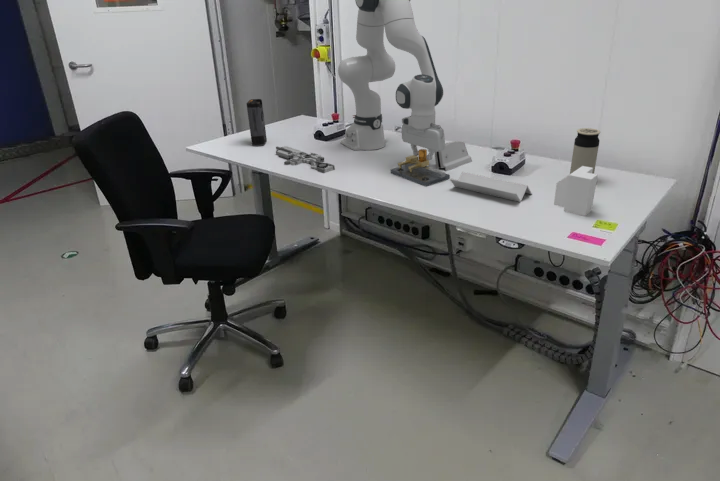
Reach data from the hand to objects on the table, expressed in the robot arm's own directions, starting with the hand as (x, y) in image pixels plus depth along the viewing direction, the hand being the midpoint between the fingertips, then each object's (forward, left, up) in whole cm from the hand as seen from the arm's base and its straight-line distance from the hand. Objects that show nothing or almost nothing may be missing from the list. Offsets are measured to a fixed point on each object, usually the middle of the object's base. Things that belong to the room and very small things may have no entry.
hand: (422, 157), depth 198 cm
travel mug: (+44, +36, -7) cm, 58 cm away
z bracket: (+30, +4, -7) cm, 31 cm away
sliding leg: (0, -2, -5) cm, 5 cm away
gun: (-48, -26, -7) cm, 55 cm away
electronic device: (-84, -27, -7) cm, 88 cm away
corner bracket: (+56, +13, -7) cm, 58 cm away
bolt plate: (+1, -3, -6) cm, 7 cm away
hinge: (0, +17, -7) cm, 18 cm away
